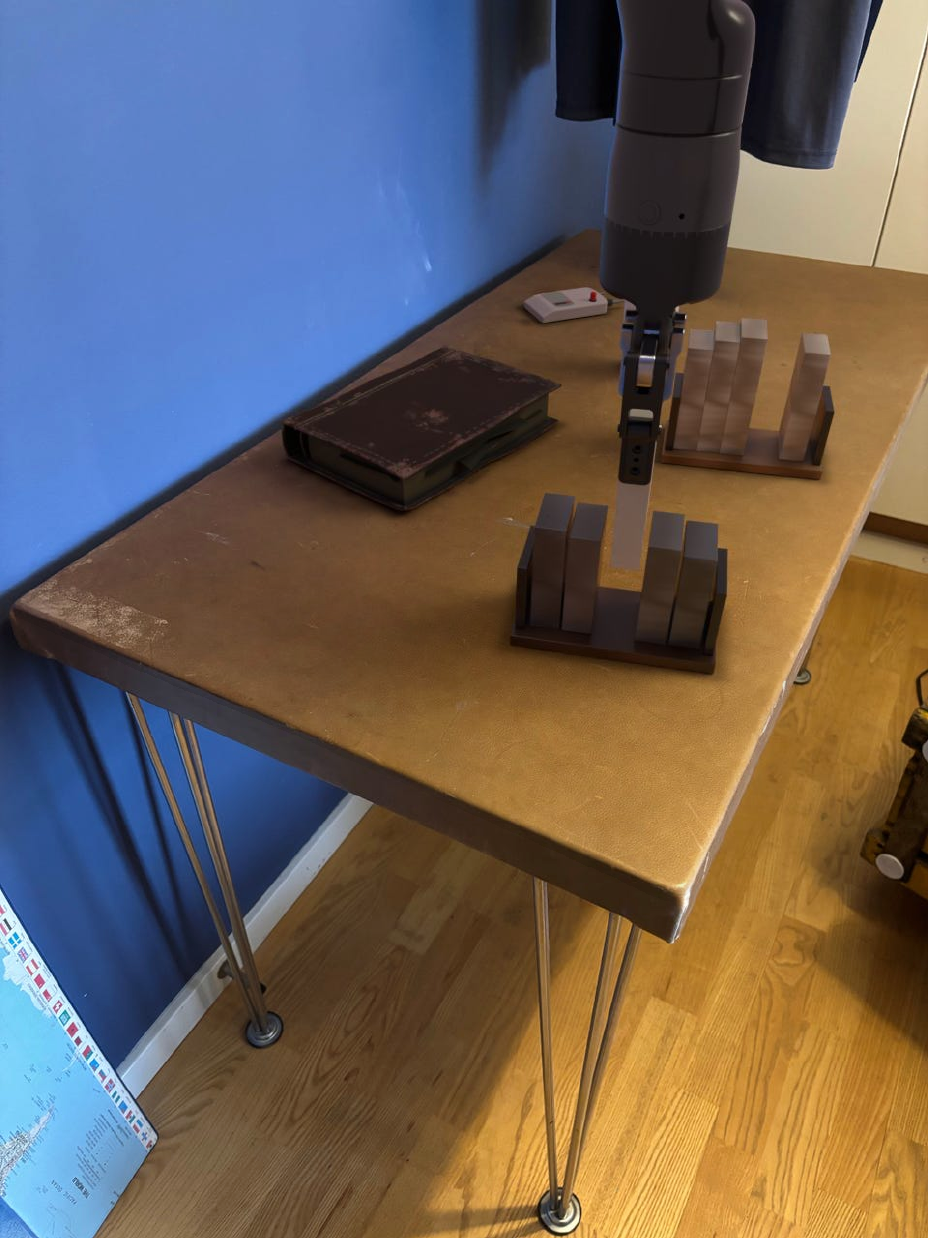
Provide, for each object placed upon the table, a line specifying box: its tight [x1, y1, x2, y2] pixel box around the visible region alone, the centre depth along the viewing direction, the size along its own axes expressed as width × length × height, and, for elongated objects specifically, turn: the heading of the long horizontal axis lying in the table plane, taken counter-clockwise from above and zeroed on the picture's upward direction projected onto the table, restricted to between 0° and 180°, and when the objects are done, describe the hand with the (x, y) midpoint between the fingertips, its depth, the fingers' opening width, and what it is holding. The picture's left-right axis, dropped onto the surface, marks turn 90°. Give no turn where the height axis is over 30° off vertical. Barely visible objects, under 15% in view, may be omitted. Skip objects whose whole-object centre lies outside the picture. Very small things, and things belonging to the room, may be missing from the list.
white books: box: [660, 317, 835, 480], centre depth 93 cm, size 16×8×14 cm, turn 77°
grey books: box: [509, 492, 729, 675], centre depth 71 cm, size 16×8×10 cm, turn 77°
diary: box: [281, 345, 563, 511], centre depth 97 cm, size 19×25×5 cm
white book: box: [609, 409, 658, 572], centre depth 66 cm, size 2×6×12 cm, turn 167°
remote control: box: [523, 286, 625, 324], centre depth 128 cm, size 7×16×3 cm, turn 110°
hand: (638, 457), depth 65 cm, fingers closed on white book, 6 cm apart
